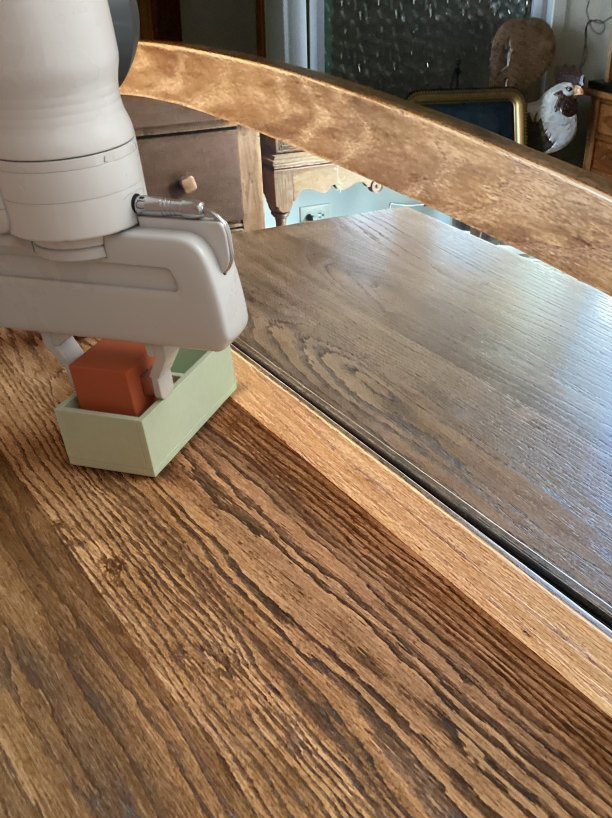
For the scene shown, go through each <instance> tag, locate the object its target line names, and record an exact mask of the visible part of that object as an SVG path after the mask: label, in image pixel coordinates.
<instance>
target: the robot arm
mask: <svg viewBox="0 0 612 818" xmlns="http://www.w3.org/2000/svg"><path fill="white" fill-rule="evenodd" d="M140 24H141V22H140V11H139V7H138V2H137V0H0V328H5V329H12V330H21V331H30V332H39V333H40V336H41V339H42V343H43V345H44V347H46V349H47V350H48V351H49V352H50V353H51V354H52V355H53V357H54V358H55V359H56V360H57V362H59V364H60V365H61V366H62V367H64V368H65V371H66V374H67V378H68V381H69V384H70V387H72V388H75V387H74V383H73V380H72V376H71V373H70V369H69V365H70V364H71V363H72V362H73V361H75V360H76V359H77V358H79V357H80V356H81V355H82V354H84V353H85V351H84V350H83V348H82V347H81V346H80V344H79V343H78V341H77V339H75V337H84V338H91V339H100V340H101V339H109V340H117V341H126V342H135V343H143V344H145V348H146V352H147V355H148V356H150V357H154V356H155V361H154V364H153V365H152V366H150V367H149V368H148V369H147V371H146V372H144V373H143V374H142V375H140V376H139V377H140V381H141V385H142V387H143V388H144V389H143V394H144V396H146V397H153V398H160V399H165V398H167V397H168V396H169V395H170V394H171V393H172V391H173V388H174V384H173V379H172V374H171V369H170V368H171V367H172V365H173V362H174V360H175V357H176V355H177V353H178V350H179V348H187V349H196V350H205V351H214V352H220V351H223V350H224V349H226V348H227V347H228V346H229V345H230V346H231V344H233V342H235V341H236V339H238V338H239V337H240V335H241V334H242V333H243V332H244V330H245V329H246V327H247V325H248V321H249V314H248V308H247V303H246V298H245V294H244V289H243V286H242V282H241V278H240V274H239V271H238V268H237V265H236V263H235V258H234V257H235V253H234V251H235V250H234V245H233V238H232V231H231V228H230V225H229V223H228V221H227V220H225V218H223V216H221V215H220V214H219V213H218V212H217V211H216V210H214V209H212V208H210V207H207V204H206V203H205V201H202V200H199V199H196V198H182V199H175V198H169V197H164V196H155V195H148V191H147V186H146V181H145V175H144V170H143V164H142V160H141V156H140V151H139V146H138V141H137V136H136V131H135V128H134V124H133V122H132V119H131V117H130V115H129V113H128V111H127V110H126V107H125V104H124V102H123V99H122V96H121V91H120V87H121V86H122V85H123V84H124V82H125V80H126V78H127V76H128V74H129V72H130V70H131V69H132V66H133V63H134V60H135V58H136V54H137V50H138V45H139V39H140V30H141V29H140V28H141V25H140ZM206 215H207V216H208V217H206Z"/></svg>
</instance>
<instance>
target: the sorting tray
mask: <svg viewBox="0 0 612 818" xmlns="http://www.w3.org/2000/svg"><path fill="white" fill-rule="evenodd" d="M170 369H171V374H172V379H173V384H174V388H173V391H172V393H171V394H170V395H169V396H168V397H167V398H165V399H160V398H159V399H158V400H157V401H156V402H155V403H153V404H152V405H151V406H150V407H149V408H148V409H147V410H146V411H145V412H144V413H143V414H142V415H141V416H140V417H134V416H127V415H119V414H112V413H105V412H97V411H90V410H83V409H81V407H80V404H79V400H78V397H77V394H76V390H74V391H73V393H71V394H70V395H69V396H68V397H66V398H65V399H64V400H63V401H62V402H60V403H59V404H58V405H57V406H56V407H54V408H53V412H54V416H55V419H56V423H57V425H58V428H59V431H60V435H61V439H62V441H63V444H64V448H65V450H66V454H67V457H68V460H69V464H70V465H73V466H80V467H86V468H93V469H99V470H105V471H106V470H107V471H110V472H111V471H113V472H118V473H124V474H125V473H126V474H131V475H138V476H144V477H150V478H156V477H157V476H158V475H159V474H160V473H161V472H162V471H163V470H164V468H165V467H167V466H168V464H169V463H171V461H172V460H173V459H174V458H175V456H177V454H178V453H179V452H180V451H181V450H182V449H183V448H184V447H185V446H186V445H187V443H188V442H189V441H190V440H191V439H192V438H193V437H194V436H195V435H196V433H198V431H199V430H200V429H201V428H202V427H203V426H204V425H205V424H206V423H207V421H209V419H210V418H211V417H212V416H213V415H214V414H215V413H216V412H217V411H218V409H219V408H220V407H222V405H223V404H224V403H225V402H226V401H227V400H228V398H230V396H231V395H232V394H233V393H234V392H235V391H236V390H237V389H238V385H237V379H236V372H235V365H234V360H233V353H232V347H231V344H230V345H229V346H228V347H227V348H226V349H224V350H223V351H220V352H214V351H205V350H196V349H187V348H179V350H178V353H177V355H176V357H175V360H174V362H173V365H172V367H171V368H170Z"/></svg>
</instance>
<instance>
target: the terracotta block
mask: <svg viewBox="0 0 612 818" xmlns="http://www.w3.org/2000/svg"><path fill="white" fill-rule="evenodd" d="M154 361H155V356H154V357H150V356H148V355H147V352H146V348H145V344H143V343H135V342H126V341H117V340H109V339H100V340H99V341H97V342H96V343H95V344H93V345H92V346H91V347H90V348H88V349H87V350H86V351H84V354H82V355H81V356H80V357H79V358H77V359H76V360H75V361H73V362H72V363H71V364H70V365H69V369H70V373H71V376H72V380H73V383H74V387H73V388H74V391H76V394H77V397H78V400H79V404H80V407H81V409H83V410H90V411H97V412H105V413H112V414H119V415H127V416H134V417H140V416H141V415H142V414H143V413H144V412H145V411H146V410H147V409H148V408H149V407H150V406H151V405H152V404H153V403H155V402H156V401H157V400H158V399H159V398H153V397H146V396H144V394H143V389H144V388H143V387H142V385H141V381H140V377H139V376H140V375H142V374H143V373H144V372H146V371H147V369H148V368H149V367H150V366H152V365H153V364H154Z"/></svg>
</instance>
